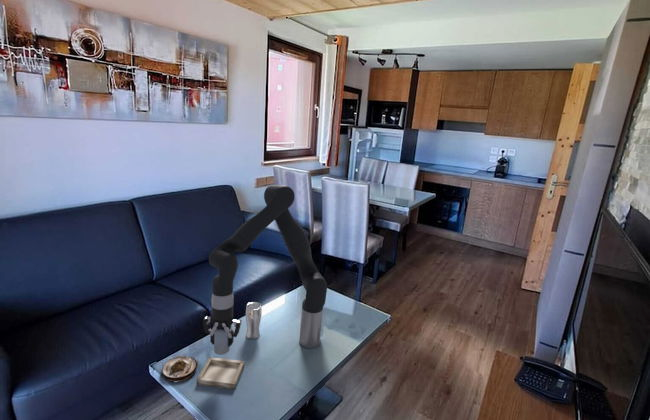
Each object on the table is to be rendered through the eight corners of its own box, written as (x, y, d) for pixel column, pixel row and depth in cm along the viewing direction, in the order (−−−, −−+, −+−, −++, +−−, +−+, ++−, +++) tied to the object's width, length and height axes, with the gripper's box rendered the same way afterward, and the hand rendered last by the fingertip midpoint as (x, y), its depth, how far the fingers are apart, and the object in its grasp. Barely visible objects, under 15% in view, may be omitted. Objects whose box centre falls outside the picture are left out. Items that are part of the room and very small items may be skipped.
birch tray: (244, 366, 132) (244, 361, 131) (234, 389, 120) (234, 383, 120) (209, 362, 133) (209, 357, 132) (196, 384, 121) (196, 379, 120)
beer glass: (256, 341, 148) (258, 311, 144) (242, 338, 149) (243, 308, 145) (262, 332, 154) (264, 303, 150) (248, 329, 155) (249, 300, 152)
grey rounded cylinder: (231, 345, 126) (232, 325, 124) (226, 355, 121) (226, 333, 119) (217, 344, 127) (217, 323, 124) (211, 353, 121) (211, 332, 119)
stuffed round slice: (191, 388, 120) (190, 378, 119) (150, 384, 120) (149, 374, 119) (206, 360, 134) (206, 351, 133) (170, 356, 134) (169, 347, 133)
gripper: (245, 300, 122) (243, 340, 127) (207, 295, 123) (206, 335, 127) (239, 311, 115) (237, 353, 119) (198, 306, 116) (198, 348, 120)
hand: (221, 343), depth 123 cm, fingers closed on grey rounded cylinder, 5 cm apart
